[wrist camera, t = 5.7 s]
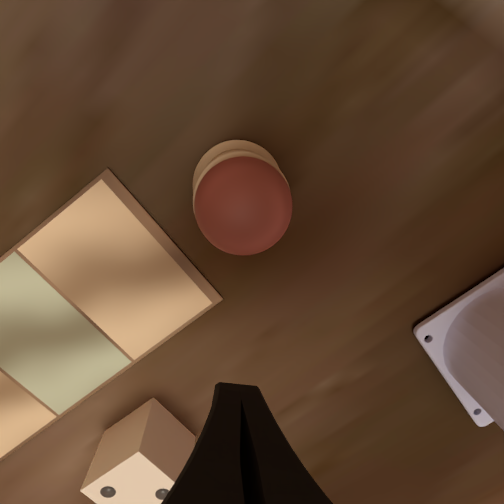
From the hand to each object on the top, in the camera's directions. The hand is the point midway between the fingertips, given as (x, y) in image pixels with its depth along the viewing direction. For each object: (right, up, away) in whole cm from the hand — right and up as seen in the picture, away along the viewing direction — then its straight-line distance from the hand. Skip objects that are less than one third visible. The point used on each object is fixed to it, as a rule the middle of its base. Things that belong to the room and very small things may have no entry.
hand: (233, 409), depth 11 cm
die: (-6, -6, +11) cm, 14 cm away
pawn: (0, +9, +7) cm, 11 cm away
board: (-11, 0, +8) cm, 14 cm away
